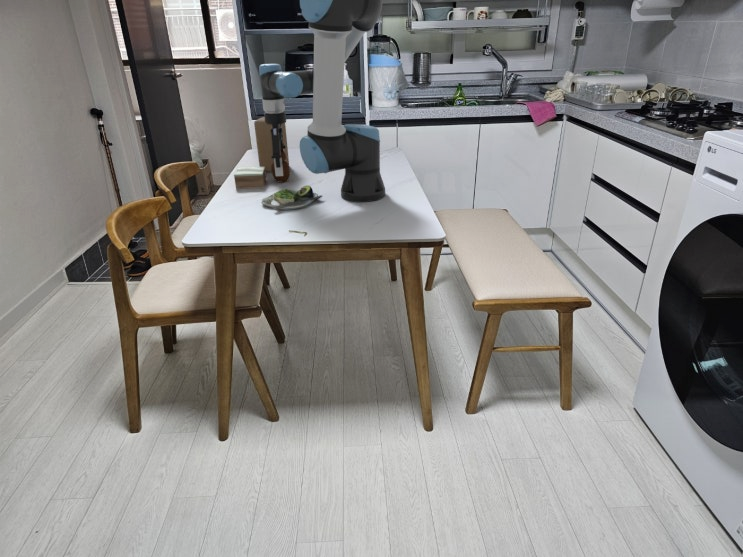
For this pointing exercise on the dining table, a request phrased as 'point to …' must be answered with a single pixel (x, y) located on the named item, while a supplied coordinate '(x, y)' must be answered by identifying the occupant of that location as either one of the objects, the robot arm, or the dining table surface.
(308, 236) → the dining table surface
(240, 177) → the plinth
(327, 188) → the dining table surface
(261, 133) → the block
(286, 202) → the salad plate
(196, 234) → the dining table surface
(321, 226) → the dining table surface
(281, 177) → the wooden figurine
